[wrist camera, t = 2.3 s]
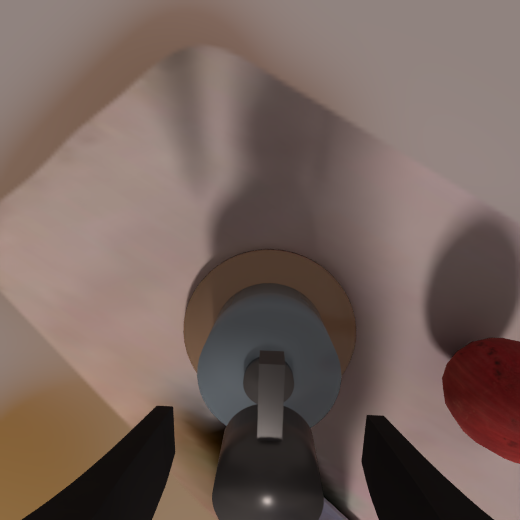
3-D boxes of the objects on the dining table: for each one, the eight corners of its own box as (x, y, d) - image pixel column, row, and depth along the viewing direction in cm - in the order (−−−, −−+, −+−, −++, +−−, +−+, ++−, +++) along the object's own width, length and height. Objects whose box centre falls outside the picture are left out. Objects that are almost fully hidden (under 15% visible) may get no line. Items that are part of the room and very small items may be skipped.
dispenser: (265, 432, 20) (264, 515, 15) (152, 327, 19) (105, 377, 14) (388, 335, 18) (437, 391, 13) (272, 211, 17) (273, 216, 12)
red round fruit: (432, 309, 18) (556, 393, 10) (521, 325, 18) (714, 421, 10) (406, 389, 19) (500, 518, 11) (489, 404, 19) (640, 543, 11)
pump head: (266, 469, 12) (265, 560, 9) (181, 391, 11) (148, 461, 8) (358, 399, 11) (392, 474, 8) (271, 312, 10) (272, 357, 7)
